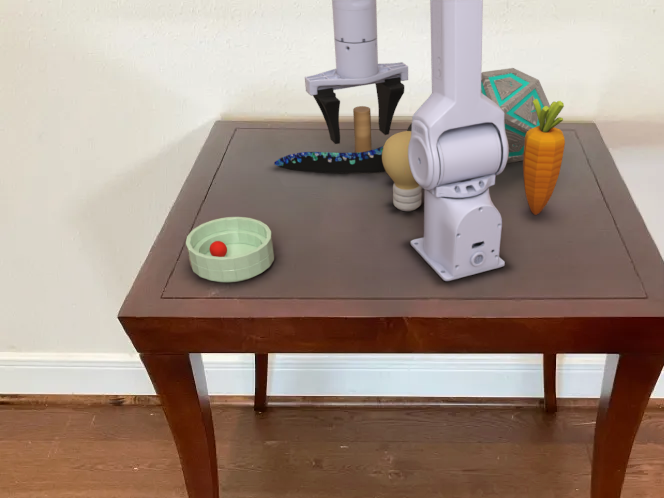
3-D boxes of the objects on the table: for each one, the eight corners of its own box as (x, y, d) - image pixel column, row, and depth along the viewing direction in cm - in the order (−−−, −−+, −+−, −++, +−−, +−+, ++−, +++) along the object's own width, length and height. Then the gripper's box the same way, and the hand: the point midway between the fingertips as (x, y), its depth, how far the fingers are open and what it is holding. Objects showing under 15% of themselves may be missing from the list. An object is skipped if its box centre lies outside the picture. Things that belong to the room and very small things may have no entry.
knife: (488, 176, 101) (486, 144, 98) (484, 185, 98) (482, 153, 96) (285, 173, 109) (279, 144, 106) (277, 182, 107) (270, 152, 104)
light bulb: (400, 223, 93) (399, 147, 87) (374, 203, 97) (371, 130, 91) (440, 210, 96) (443, 136, 90) (413, 191, 100) (414, 119, 94)
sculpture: (526, 175, 121) (519, 186, 93) (454, 137, 122) (426, 137, 94) (565, 100, 117) (571, 89, 89) (491, 61, 117) (473, 38, 89)
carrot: (509, 209, 96) (521, 94, 86) (543, 203, 97) (557, 89, 88) (527, 226, 92) (541, 109, 83) (561, 220, 94) (579, 103, 84)
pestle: (379, 166, 106) (378, 111, 101) (356, 170, 105) (354, 115, 100) (370, 156, 109) (368, 102, 104) (348, 160, 108) (345, 106, 103)
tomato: (230, 259, 86) (213, 263, 85) (225, 250, 87) (209, 254, 86) (227, 245, 84) (210, 248, 84) (223, 236, 86) (206, 239, 85)
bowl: (285, 273, 84) (281, 247, 82) (202, 293, 81) (196, 266, 79) (261, 235, 91) (257, 210, 89) (183, 253, 88) (178, 227, 85)
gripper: (393, 23, 102) (394, 119, 111) (293, 36, 97) (303, 135, 106) (415, 36, 97) (414, 135, 106) (311, 50, 92) (319, 153, 101)
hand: (360, 136), depth 105 cm, fingers open, 7 cm apart
